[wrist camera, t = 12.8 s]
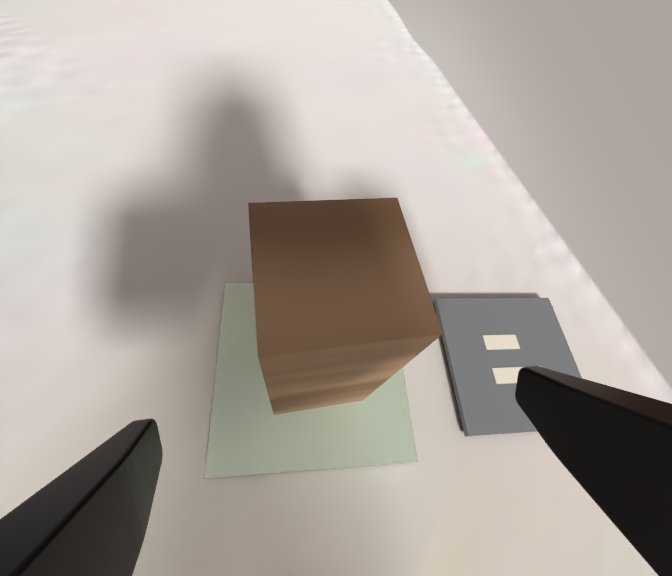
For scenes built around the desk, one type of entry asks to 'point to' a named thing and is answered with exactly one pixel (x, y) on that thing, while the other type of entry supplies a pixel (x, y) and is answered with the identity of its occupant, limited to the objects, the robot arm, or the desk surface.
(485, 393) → the slate tile
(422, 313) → the walnut block
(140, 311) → the desk surface
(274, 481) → the desk surface
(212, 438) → the sage plate
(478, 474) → the desk surface
